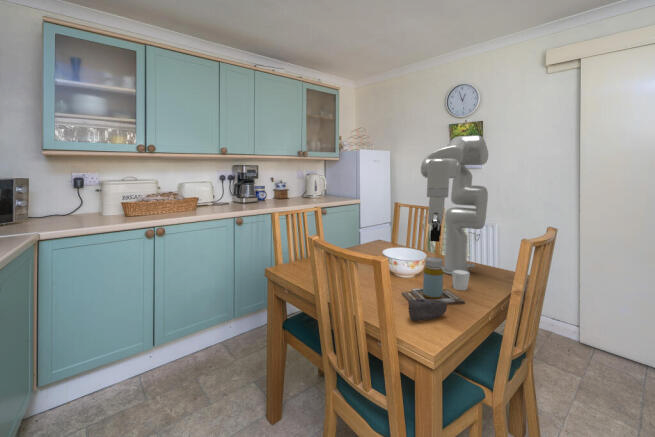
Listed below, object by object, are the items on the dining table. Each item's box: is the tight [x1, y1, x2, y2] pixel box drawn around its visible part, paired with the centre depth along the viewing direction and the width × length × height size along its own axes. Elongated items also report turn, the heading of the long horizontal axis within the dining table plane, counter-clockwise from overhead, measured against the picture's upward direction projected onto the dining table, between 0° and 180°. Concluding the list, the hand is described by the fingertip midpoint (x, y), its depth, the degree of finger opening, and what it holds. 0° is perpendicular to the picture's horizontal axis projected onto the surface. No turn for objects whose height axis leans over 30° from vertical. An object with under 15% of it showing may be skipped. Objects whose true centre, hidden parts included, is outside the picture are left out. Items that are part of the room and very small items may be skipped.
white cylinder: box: [451, 270, 471, 291], centre depth 132 cm, size 7×7×7 cm
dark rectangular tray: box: [401, 287, 466, 306], centre depth 122 cm, size 20×12×2 cm, turn 98°
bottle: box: [422, 256, 444, 299], centre depth 120 cm, size 7×7×15 cm
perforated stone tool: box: [407, 299, 448, 322], centre depth 106 cm, size 15×5×7 cm, turn 101°
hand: (435, 238), depth 118 cm, fingers open, 9 cm apart
